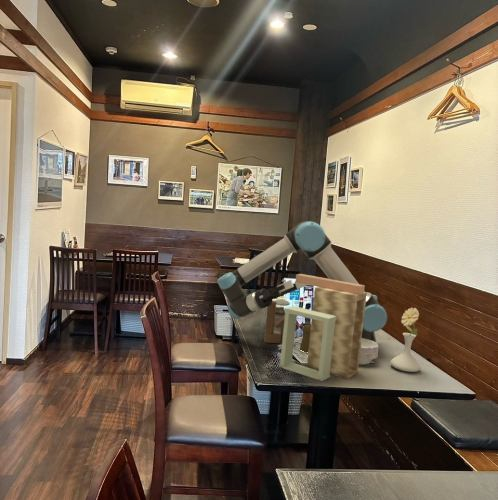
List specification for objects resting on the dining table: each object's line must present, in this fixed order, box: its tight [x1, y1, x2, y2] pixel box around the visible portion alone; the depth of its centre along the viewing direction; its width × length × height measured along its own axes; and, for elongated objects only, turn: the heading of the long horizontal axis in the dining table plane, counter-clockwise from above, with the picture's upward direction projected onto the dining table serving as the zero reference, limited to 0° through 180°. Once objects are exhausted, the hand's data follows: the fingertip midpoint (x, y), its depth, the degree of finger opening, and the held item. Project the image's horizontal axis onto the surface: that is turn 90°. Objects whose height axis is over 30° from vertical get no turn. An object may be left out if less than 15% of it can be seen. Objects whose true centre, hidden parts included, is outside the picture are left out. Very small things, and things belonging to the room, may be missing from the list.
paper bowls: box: [359, 338, 379, 365], centre depth 180 cm, size 15×15×8 cm
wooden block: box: [263, 299, 285, 345], centre depth 194 cm, size 4×11×18 cm, turn 95°
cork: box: [299, 324, 311, 352], centre depth 186 cm, size 6×6×11 cm
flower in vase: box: [390, 307, 422, 373], centre depth 173 cm, size 13×11×25 cm
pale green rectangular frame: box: [278, 305, 337, 382], centre depth 161 cm, size 18×6×22 cm, turn 54°
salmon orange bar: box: [295, 273, 366, 295], centre depth 167 cm, size 26×4×3 cm, turn 54°
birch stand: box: [306, 286, 367, 380], centre depth 166 cm, size 16×10×30 cm, turn 54°
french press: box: [273, 278, 291, 334], centre depth 212 cm, size 10×12×25 cm
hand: (301, 281), depth 173 cm, fingers open, 13 cm apart
